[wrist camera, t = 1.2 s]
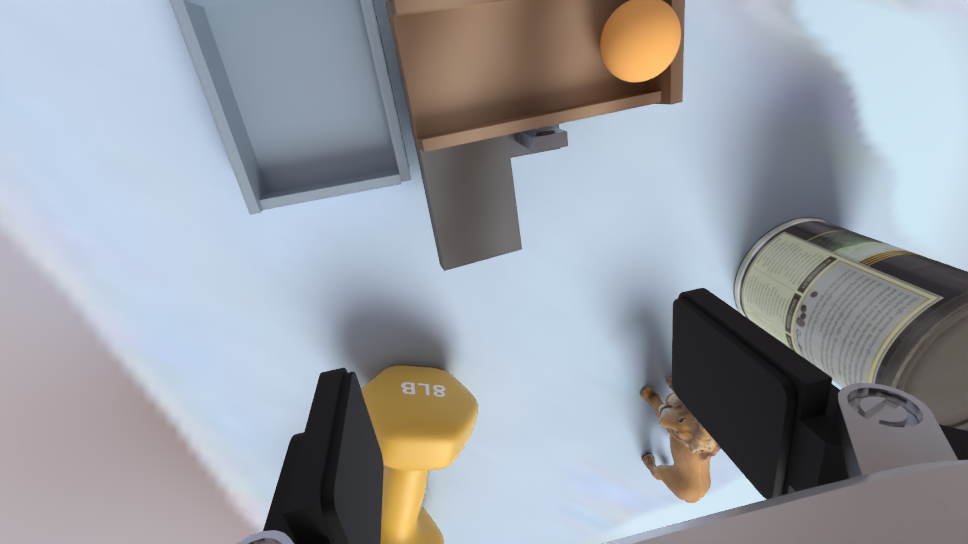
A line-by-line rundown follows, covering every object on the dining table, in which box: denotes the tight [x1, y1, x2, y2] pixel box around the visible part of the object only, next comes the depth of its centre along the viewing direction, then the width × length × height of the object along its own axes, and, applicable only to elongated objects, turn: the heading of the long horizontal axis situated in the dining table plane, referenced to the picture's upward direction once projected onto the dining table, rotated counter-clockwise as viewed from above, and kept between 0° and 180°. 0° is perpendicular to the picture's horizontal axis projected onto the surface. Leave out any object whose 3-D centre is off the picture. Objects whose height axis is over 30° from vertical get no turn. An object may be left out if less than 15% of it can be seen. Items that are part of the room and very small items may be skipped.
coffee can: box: [734, 218, 968, 431], centre depth 33 cm, size 10×10×14 cm
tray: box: [170, 0, 411, 214], centre depth 27 cm, size 10×12×3 cm
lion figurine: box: [640, 376, 721, 503], centre depth 39 cm, size 15×5×9 cm, turn 17°
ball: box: [600, 0, 681, 82], centre depth 24 cm, size 4×4×4 cm
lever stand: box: [508, 124, 568, 158], centre depth 27 cm, size 4×12×6 cm, turn 9°
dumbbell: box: [362, 365, 478, 544], centre depth 37 cm, size 19×9×8 cm, turn 168°
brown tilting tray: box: [386, 0, 685, 271], centre depth 27 cm, size 15×14×4 cm
